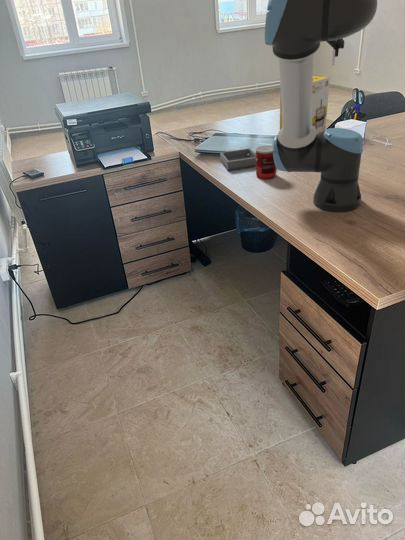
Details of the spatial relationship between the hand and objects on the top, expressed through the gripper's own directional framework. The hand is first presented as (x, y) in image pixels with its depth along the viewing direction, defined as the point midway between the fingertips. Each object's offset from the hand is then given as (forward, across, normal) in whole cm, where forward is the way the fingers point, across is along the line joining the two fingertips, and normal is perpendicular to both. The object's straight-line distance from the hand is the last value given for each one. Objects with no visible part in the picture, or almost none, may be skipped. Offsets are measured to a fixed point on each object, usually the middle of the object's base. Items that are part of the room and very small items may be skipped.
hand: (315, 63), depth 155 cm
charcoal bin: (+21, +28, +32) cm, 48 cm away
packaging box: (+50, +7, -7) cm, 51 cm away
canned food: (+14, +14, +43) cm, 47 cm away
